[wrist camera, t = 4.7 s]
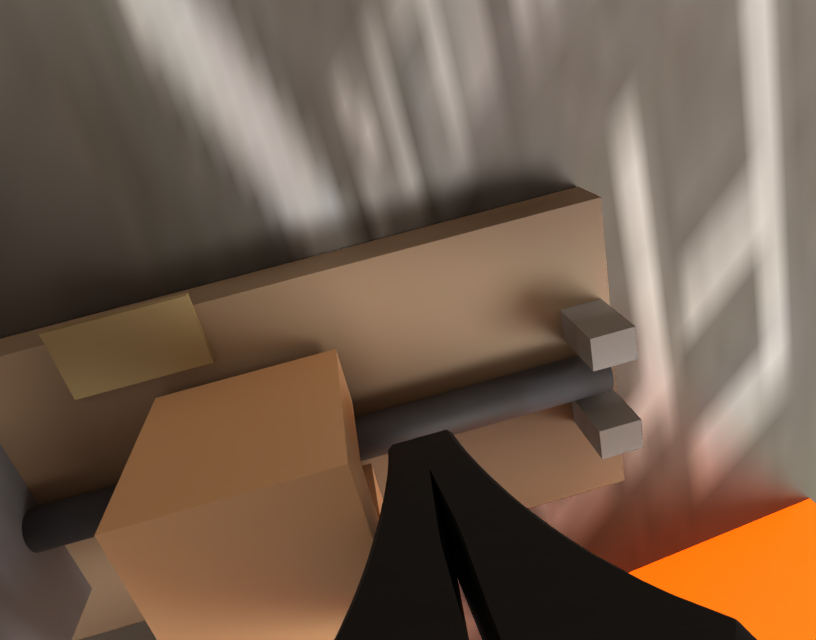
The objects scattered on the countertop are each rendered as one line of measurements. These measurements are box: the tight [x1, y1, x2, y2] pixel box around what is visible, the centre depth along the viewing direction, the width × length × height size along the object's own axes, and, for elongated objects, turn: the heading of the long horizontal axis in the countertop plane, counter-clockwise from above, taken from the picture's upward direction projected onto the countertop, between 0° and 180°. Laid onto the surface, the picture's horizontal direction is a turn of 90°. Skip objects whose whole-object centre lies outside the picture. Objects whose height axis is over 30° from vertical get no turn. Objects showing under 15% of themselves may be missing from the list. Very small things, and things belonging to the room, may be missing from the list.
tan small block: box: [94, 349, 383, 640], centre depth 12 cm, size 5×4×4 cm
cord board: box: [0, 187, 643, 640], centre depth 13 cm, size 9×17×5 cm, turn 102°
